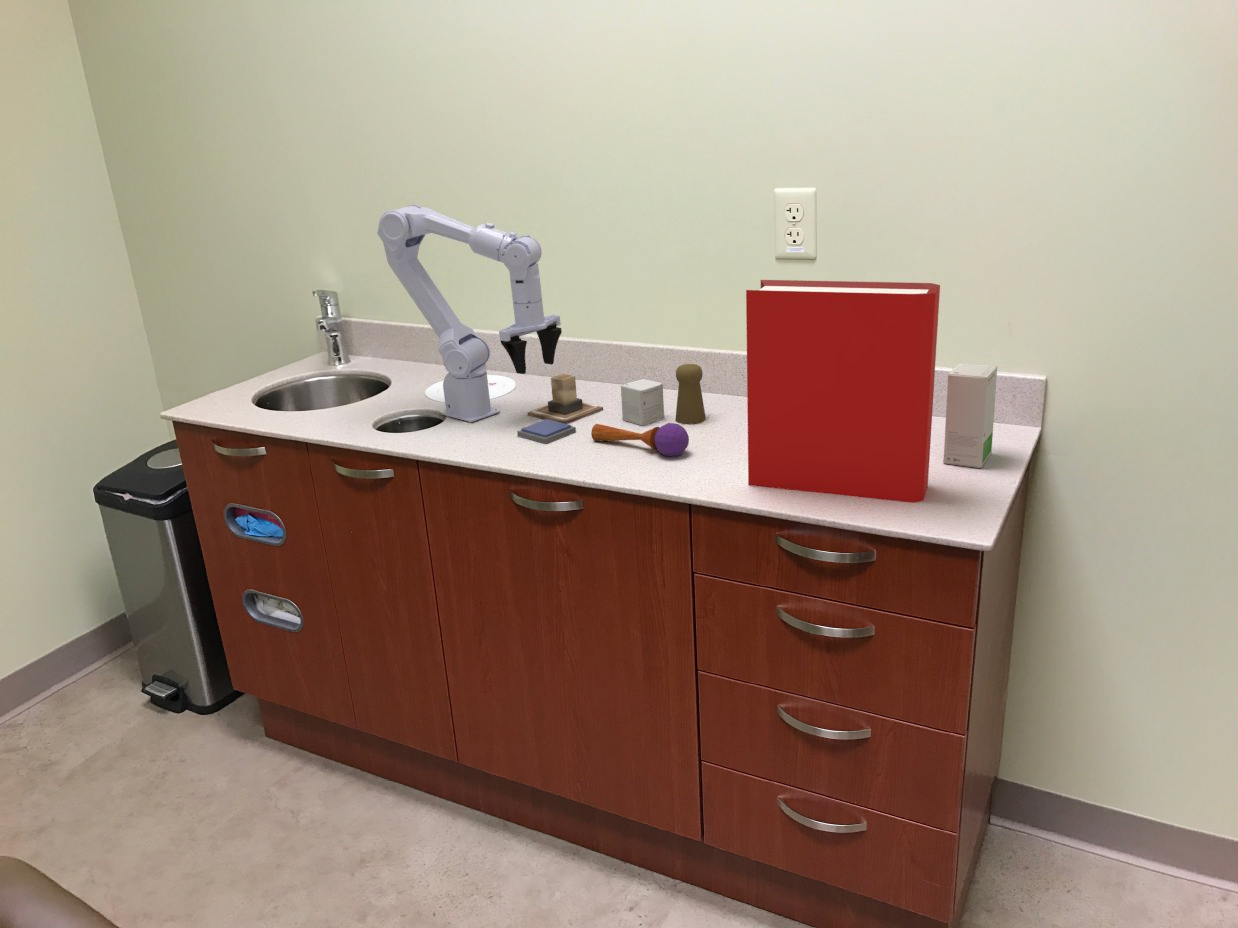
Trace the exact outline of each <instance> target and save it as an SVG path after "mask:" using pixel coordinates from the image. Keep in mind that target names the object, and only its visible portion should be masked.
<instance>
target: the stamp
mask: <svg viewBox="0 0 1238 928" xmlns="http://www.w3.org/2000/svg"><path fill="white" fill-rule="evenodd" d="M550 385H551V394H552V395H551V396H552V398H551V399H552V400H551V399H550V400H549V401H547V405H548V411H550V412H555V413H559V414H563V415H567V414H570V413H573V412H575V411H578V410H580V409H583V404H582V402H583V399H581V398H579V397H578V396H577V394H578V393H577V383H576V376H575V375H571V374H566V373H562V374H561V373H560V374H558V375H556V376H553V377H550ZM577 397H578V398H577Z"/></svg>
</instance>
